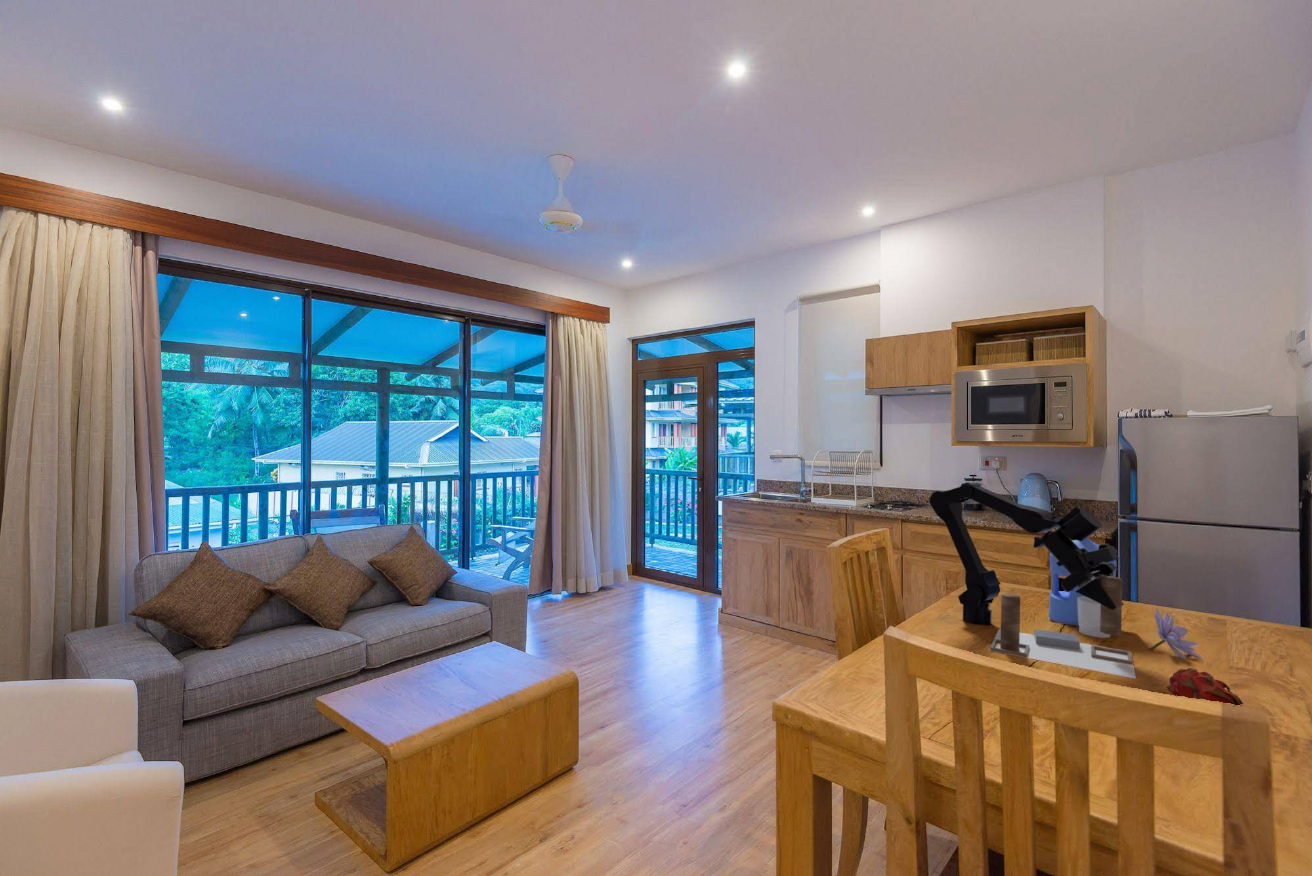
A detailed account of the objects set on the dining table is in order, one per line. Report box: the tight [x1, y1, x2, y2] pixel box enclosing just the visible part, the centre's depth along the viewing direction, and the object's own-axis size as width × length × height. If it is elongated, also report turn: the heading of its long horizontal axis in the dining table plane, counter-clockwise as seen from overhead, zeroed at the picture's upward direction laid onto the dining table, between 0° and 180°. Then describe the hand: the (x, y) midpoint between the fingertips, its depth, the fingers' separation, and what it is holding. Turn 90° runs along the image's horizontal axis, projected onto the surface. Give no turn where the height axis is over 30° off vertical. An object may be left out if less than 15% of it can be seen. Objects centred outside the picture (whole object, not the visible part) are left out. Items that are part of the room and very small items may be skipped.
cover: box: [1033, 628, 1081, 650], centre depth 152 cm, size 9×6×2 cm, turn 62°
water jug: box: [1048, 536, 1118, 627], centre depth 172 cm, size 16×16×28 cm
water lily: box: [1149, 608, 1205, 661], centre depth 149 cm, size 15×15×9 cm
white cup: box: [1077, 596, 1112, 639], centre depth 160 cm, size 8×8×10 cm
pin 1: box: [1000, 593, 1021, 652], centre depth 148 cm, size 4×4×13 cm
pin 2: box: [1100, 576, 1123, 636], centre depth 143 cm, size 4×4×13 cm
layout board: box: [989, 628, 1137, 680], centre depth 147 cm, size 28×20×2 cm
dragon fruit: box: [1166, 667, 1244, 706], centre depth 118 cm, size 8×8×12 cm
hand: (1118, 607), depth 142 cm, fingers closed on pin 2, 4 cm apart
